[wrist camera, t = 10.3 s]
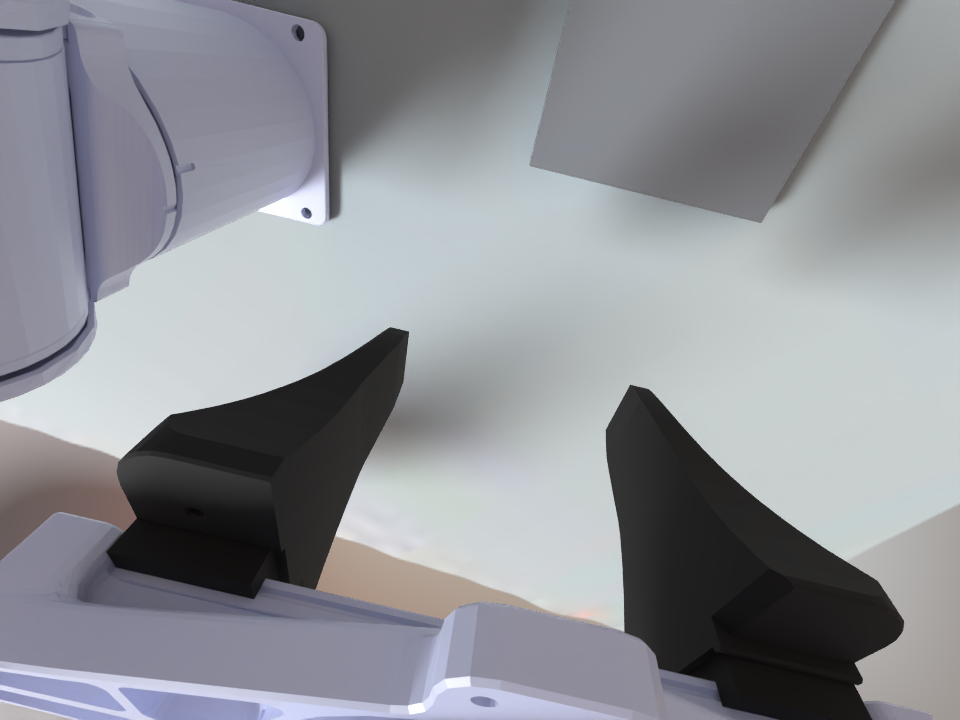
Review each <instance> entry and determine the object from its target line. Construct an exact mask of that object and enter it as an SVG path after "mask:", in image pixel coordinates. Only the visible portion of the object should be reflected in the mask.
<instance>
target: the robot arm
mask: <svg viewBox="0 0 960 720" xmlns="http://www.w3.org/2000/svg"><path fill="white" fill-rule="evenodd" d="M298 26H301V27H302V29H303V30H304V34H305V35H304V39H303V40H302V41H300V40H299V39H298V37H297V34H296V30H297V28H298ZM305 208H308V209H309V210H310V211H311V213H312V216H309V215H307V214H306V212H305ZM255 211H260V212H264V213H268V214H272V215H276V216H281V217H285V218H289V219H293V220H297V221H301V222H305V223H309V224H313V225H319V226H321V225H323V224H325V223H327V222H328V220H329V150H328V83H327V38H326V33H325V31H324V29H323V27H322V26H321V25H320V24H319V23H317V22H315V21H313V20H309V19H305V18H301V17H297V16H293V15H289V14H285V13H281V12H277V11H273V10H269V9H265V8H261V7H257V6H253V5H249V4H245V3H241V2H237V1H233V0H0V402H2V401H5V400H8V399H11V398H14V397H17V396H20V395H22V394H24V393H27V392H29V391H31V390H34V389H36V388H38V387H41V386H43V385H45V384H47V383H48V382H50V381H52V380H53V379H55V378H57V377H59V376H60V375H62V374H64V373H65V372H66V371H67V370H69V369H70V368H71V367H73V366H74V365H75V364H76V363H78V362H79V360H80V359H81V358H82V357H83V356H84V355H85V354H86V352H87V351H88V350H89V348H90V346H91V344H92V342H93V340H94V338H95V335H96V329H97V320H96V312H95V305H94V302H97V301H99V300H101V299H103V298H105V297H107V296H109V295H111V294H113V293H115V292H117V291H119V290H121V289H123V288H125V287H127V286H128V285H129V278H130V275H131V273H132V271H133V270H134V268H135V267H136V266H138V265H140V264H141V263H143V262H145V261H147V260H149V259H152V258H154V257H156V256H159V255H161V254H163V253H165V252H167V251H170V250H172V249H174V248H176V247H178V246H181V245H183V244H185V243H187V242H189V241H191V240H194V239H196V238H198V237H200V236H202V235H205V234H207V233H209V232H211V231H213V230H216V229H218V228H220V227H222V226H224V225H227V224H229V223H231V222H233V221H235V220H238V219H240V218H242V217H244V216H246V215H249V214H251V213H253V212H255ZM408 337H409V332H408V331H404V330H400V329H396V328H391V327H390V328H388V329H386V330H385V331H383V332H382V333H381V334H379V335H378V336H376V337H375V338H373V339H372V340H370V341H369V342H367V343H366V344H365V345H363V346H362V347H360V348H358V349H357V350H355V351H354V352H352V353H351V354H349V355H347V356H346V357H344V358H342V359H341V360H339V361H337V362H335V363H333V364H332V365H330V366H328V367H326V368H325V369H323V370H321V371H319V372H317V373H314V374H312V375H310V376H308V377H306V378H303V379H301V380H299V381H296V382H294V383H291V384H289V385H286V386H283V387H280V388H277V389H274V390H272V391H269V392H266V393H263V394H260V395H257V396H253V397H250V398H246V399H243V400H239V401H235V402H231V403H227V404H223V405H219V406H215V407H209V408H204V409H199V410H194V411H189V412H184V413H178V414H172V415H170V416H169V417H167V418H166V419H165V420H164V421H163V422H161V423H160V424H159V425H158V426H157V427H156V428H154V429H153V430H152V431H151V432H150V433H149V434H148V435H147V436H146V437H145V438H143V439H142V440H141V441H140V442H139V443H138V444H137V445H136V446H135V447H134V448H132V449H131V450H130V451H129V452H128V453H127V454H126V455H125V456H124V457H123V458H122V459H121V460H120V461H119V462H118V468H117V475H118V478H119V482H120V485H121V487H122V489H123V491H124V493H125V495H126V497H127V499H128V501H129V503H130V505H131V507H132V509H133V511H134V513H135V515H136V517H137V519H136V520H135V521H134V522H133V524H132V525H131V526H130V527H129V528H128V529H127V530H126V531H125V532H123V531H122V530H121V529H120V528H118V527H116V526H115V525H111V524H109V523H106V522H102V521H98V520H94V519H89V518H85V517H81V516H76V515H72V514H68V513H63V512H59V513H55V514H53V515H52V516H51V517H50V518H49V519H47V520H46V521H45V522H44V523H43V524H42V525H41V526H40V527H38V528H37V529H36V530H35V531H34V532H33V533H32V534H31V535H30V536H28V537H27V538H26V539H25V540H24V541H23V542H22V543H20V544H19V545H18V546H17V547H16V548H15V549H14V550H13V551H11V552H10V553H9V554H8V555H7V556H6V557H5V558H4V559H2V560H1V561H0V702H4V703H8V704H12V705H17V706H21V707H25V708H29V709H34V710H38V711H42V712H46V713H50V714H53V715H57V716H61V717H65V718H69V719H73V720H935V719H934V717H933V716H932V715H931V714H929V713H927V712H925V711H921V710H917V709H912V708H908V707H904V706H900V705H895V704H891V703H887V702H880V701H865V702H863V701H862V699H861V697H860V695H859V693H858V691H857V690H856V687H855V685H859V684H862V681H863V678H862V677H861V675H860V673H859V671H858V669H857V667H856V665H855V662H857V661H859V660H860V659H862V658H864V657H866V656H868V655H871V654H873V653H874V652H877V651H878V650H880V649H883V648H885V647H886V646H888V645H889V644H891V643H893V642H894V641H896V640H897V638H898V637H899V636H900V635H901V633H902V631H903V627H904V620H903V619H902V617H901V616H900V614H899V613H898V611H897V609H896V608H895V606H894V605H893V603H892V602H891V600H890V599H889V597H888V596H887V594H886V593H885V591H884V590H883V588H882V587H881V585H880V584H879V582H878V581H877V580H875V579H874V578H872V577H870V576H869V575H867V574H865V573H864V572H862V571H860V570H859V569H857V568H856V567H854V566H852V565H851V564H849V563H848V562H846V561H844V560H843V559H841V558H839V557H838V556H836V555H834V554H833V553H831V552H830V551H828V550H827V549H825V548H823V547H822V546H821V545H819V544H818V543H816V542H815V541H813V540H812V539H810V538H809V537H807V536H806V535H804V534H803V533H801V532H800V531H799V530H797V529H796V528H794V527H793V526H792V525H790V524H789V523H787V522H786V521H785V520H783V519H782V518H781V517H779V516H778V515H777V514H775V513H774V512H773V511H772V510H770V509H769V508H768V507H766V506H765V505H764V504H763V503H761V502H760V501H759V500H758V499H756V498H755V497H754V496H753V495H752V494H750V493H749V492H748V491H747V490H746V489H744V488H743V487H742V486H741V485H740V484H739V483H738V482H737V481H735V480H734V479H733V478H732V477H731V476H730V475H729V474H728V473H727V472H725V471H724V470H723V469H722V468H721V467H720V466H719V465H718V464H717V463H716V462H715V461H714V460H713V459H712V458H711V457H710V456H709V455H708V454H707V453H706V452H705V451H704V450H703V449H702V448H701V446H700V445H699V444H698V443H697V442H696V441H695V440H694V439H693V438H692V437H691V436H690V435H689V433H688V432H687V431H686V430H685V429H684V428H683V427H682V426H681V424H680V423H679V422H678V421H677V420H676V419H675V417H674V416H673V415H672V414H671V413H670V412H669V411H668V409H667V408H666V407H665V406H664V405H663V404H662V403H661V401H660V400H659V399H658V398H657V397H656V396H655V395H654V394H653V393H652V392H651V391H650V390H649V389H646V388H641V387H637V386H633V385H630V386H629V388H628V390H627V392H626V394H625V396H624V397H623V399H622V401H621V403H620V405H619V407H618V408H617V410H616V412H615V414H614V416H613V418H612V420H611V421H610V423H609V425H608V427H607V429H606V452H607V462H608V468H609V474H610V479H611V485H612V490H613V495H614V501H615V506H616V511H617V516H618V522H619V529H620V538H621V551H622V565H623V586H624V630H625V633H624V632H622V631H619V630H615V629H610V628H606V627H602V626H597V625H593V624H589V623H584V622H580V621H576V620H571V619H567V618H562V617H558V616H554V615H549V614H545V613H541V612H537V611H532V610H528V609H524V608H519V607H515V606H511V605H506V604H498V603H488V602H477V603H472V604H467V605H461V606H459V607H458V608H457V609H455V610H454V611H453V612H452V613H451V614H450V615H449V616H448V617H446V618H445V620H444V619H440V618H435V617H431V616H426V615H422V614H418V613H413V612H409V611H405V610H400V609H396V608H392V607H387V606H383V605H379V604H375V603H370V602H366V601H361V600H357V599H353V598H348V597H344V596H340V595H335V594H331V593H327V592H322V591H318V590H315V589H316V586H317V584H318V581H319V578H320V575H321V572H322V570H323V566H324V564H325V561H326V558H327V556H328V553H329V550H330V548H331V545H332V542H333V539H334V537H335V534H336V531H337V529H338V526H339V524H340V521H341V518H342V516H343V513H344V511H345V508H346V506H347V503H348V500H349V498H350V495H351V493H352V490H353V488H354V485H355V483H356V481H357V478H358V476H359V473H360V471H361V469H362V467H363V465H364V463H365V461H366V459H367V457H368V455H369V453H370V451H371V449H372V447H373V446H374V444H375V442H376V440H377V438H378V436H379V434H380V432H381V431H382V429H383V427H384V425H385V423H386V421H387V419H388V417H389V415H390V413H391V412H392V410H393V408H394V405H395V403H396V400H397V397H398V395H399V392H400V389H401V386H402V384H403V379H404V371H405V362H406V354H407V345H408ZM854 684H855V685H854Z"/></svg>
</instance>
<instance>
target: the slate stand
mask: <svg viewBox="0 0 960 720" xmlns="http://www.w3.org/2000/svg"><path fill="white" fill-rule="evenodd" d="M894 2H895V0H571V1H570V5H569V9H568V13H567V17H566V21H565V25H564V29H563V33H562V37H561V41H560V45H559V48H558V52H557V56H556V60H555V64H554V68H553V72H552V76H551V80H550V84H549V88H548V92H547V96H546V100H545V104H544V108H543V112H542V116H541V120H540V124H539V128H538V132H537V136H536V140H535V144H534V148H533V152H532V156H531V160H530V166H532V167H536V168H540V169H544V170H548V171H552V172H557V173H561V174H565V175H569V176H573V177H577V178H581V179H585V180H589V181H593V182H597V183H601V184H605V185H609V186H613V187H617V188H621V189H625V190H629V191H633V192H638V193H642V194H646V195H650V196H654V197H658V198H662V199H666V200H670V201H674V202H678V203H682V204H686V205H690V206H694V207H698V208H702V209H706V210H710V211H715V212H719V213H723V214H727V215H731V216H735V217H739V218H743V219H747V220H751V221H755V222H759V223H761V222H762V221H763V219H764V217H765V216H766V214H767V212H768V211H769V209H770V207H771V206H772V204H773V202H774V201H775V199H776V197H777V196H778V194H779V192H780V191H781V189H782V188H783V186H784V184H785V183H786V181H787V179H788V178H789V176H790V174H791V173H792V171H793V169H794V168H795V166H796V164H797V163H798V161H799V159H800V158H801V156H802V154H803V153H804V151H805V149H806V148H807V146H808V144H809V143H810V141H811V140H812V138H813V136H814V135H815V133H816V131H817V130H818V128H819V126H820V125H821V123H822V121H823V120H824V118H825V116H826V115H827V113H828V111H829V110H830V108H831V106H832V105H833V103H834V101H835V100H836V98H837V96H838V95H839V93H840V92H841V90H842V88H843V87H844V85H845V83H846V82H847V80H848V78H849V77H850V75H851V73H852V72H853V70H854V68H855V67H856V65H857V63H858V62H859V60H860V58H861V57H862V55H863V53H864V52H865V50H866V48H867V47H868V45H869V44H870V42H871V40H872V39H873V37H874V35H875V34H876V32H877V30H878V29H879V27H880V25H881V24H882V22H883V20H884V19H885V17H886V15H887V14H888V12H889V10H890V9H891V7H892V5H893V4H894Z"/></svg>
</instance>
